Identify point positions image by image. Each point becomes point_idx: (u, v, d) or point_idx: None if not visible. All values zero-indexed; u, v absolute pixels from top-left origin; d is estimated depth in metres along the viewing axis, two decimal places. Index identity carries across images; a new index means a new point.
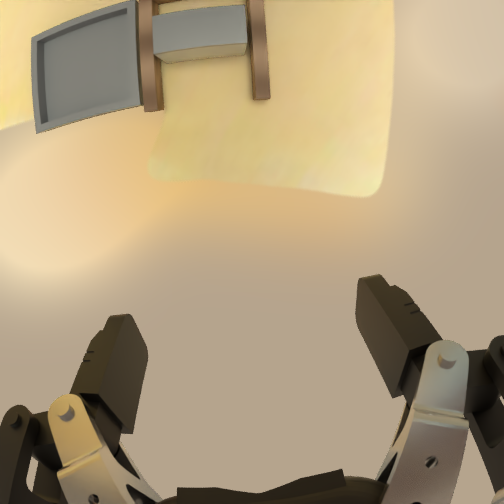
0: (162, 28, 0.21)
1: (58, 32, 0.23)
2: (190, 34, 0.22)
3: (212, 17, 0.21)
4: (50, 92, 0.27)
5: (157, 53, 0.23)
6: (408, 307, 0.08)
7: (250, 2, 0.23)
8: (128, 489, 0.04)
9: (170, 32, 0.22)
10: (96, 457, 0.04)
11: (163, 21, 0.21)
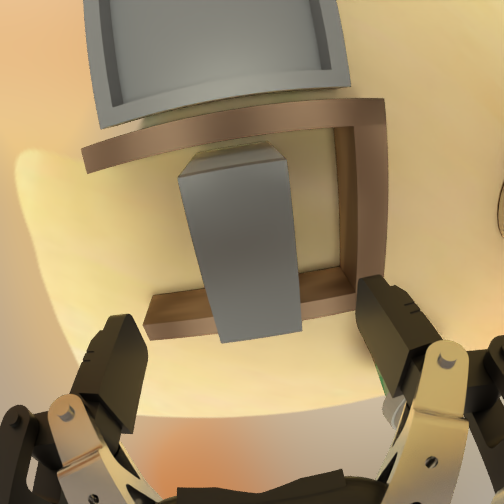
0: (247, 190, 0.12)
1: None
2: (229, 253, 0.13)
3: (273, 287, 0.14)
4: None
5: None
6: (408, 307, 0.08)
7: (317, 301, 0.19)
8: (128, 489, 0.04)
9: (235, 210, 0.12)
10: (96, 457, 0.04)
11: (267, 189, 0.12)
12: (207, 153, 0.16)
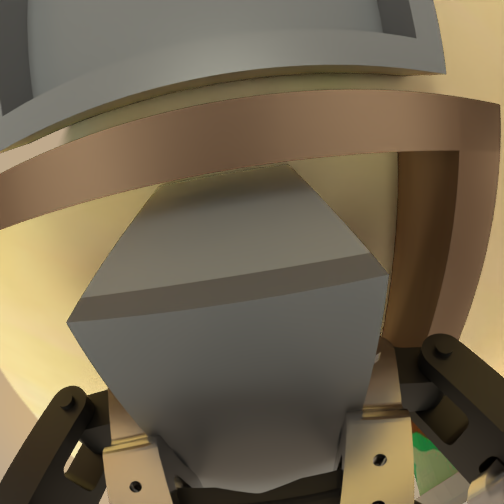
0: (265, 356, 0.04)
1: None
2: (221, 444, 0.05)
3: (302, 465, 0.06)
4: None
5: None
6: None
7: None
8: (175, 479, 0.05)
9: (231, 392, 0.04)
10: (152, 444, 0.04)
11: (322, 351, 0.04)
12: (174, 193, 0.08)
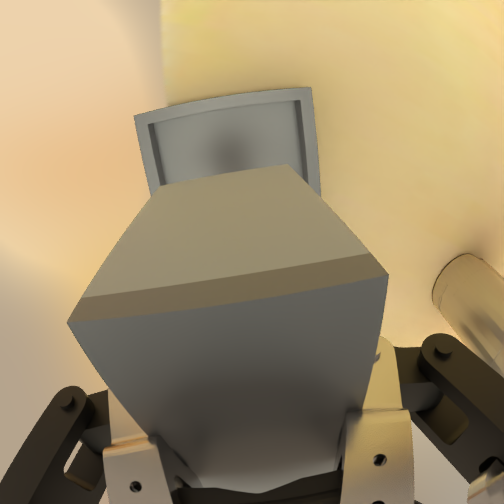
0: (265, 355, 0.04)
1: (303, 139, 0.23)
2: (221, 443, 0.05)
3: (302, 465, 0.06)
4: (202, 122, 0.23)
5: None
6: None
7: None
8: (174, 479, 0.05)
9: (231, 392, 0.04)
10: (152, 444, 0.04)
11: (322, 351, 0.04)
12: (174, 192, 0.08)
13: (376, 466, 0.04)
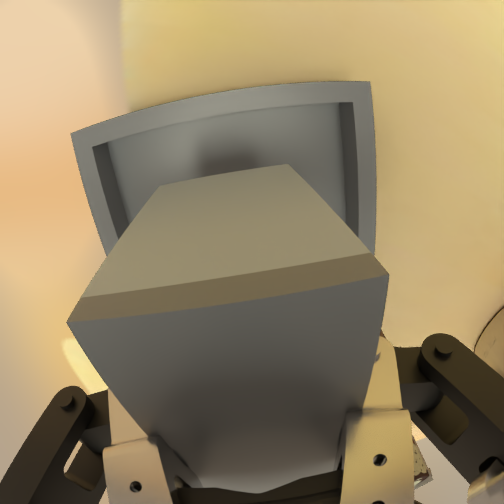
0: (266, 356, 0.04)
1: (354, 170, 0.14)
2: (221, 444, 0.05)
3: (302, 465, 0.06)
4: (185, 137, 0.14)
5: None
6: None
7: None
8: (174, 479, 0.05)
9: (231, 392, 0.04)
10: (151, 444, 0.04)
11: (322, 351, 0.04)
12: (174, 192, 0.08)
13: (376, 466, 0.04)
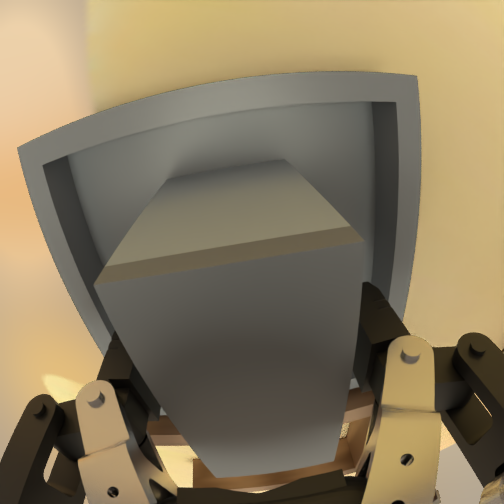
0: (263, 312, 0.05)
1: (392, 192, 0.10)
2: (224, 407, 0.06)
3: (299, 435, 0.07)
4: (165, 147, 0.10)
5: None
6: (378, 303, 0.09)
7: None
8: (150, 483, 0.04)
9: (234, 349, 0.05)
10: (122, 449, 0.04)
11: (311, 309, 0.05)
12: (181, 184, 0.09)
13: (402, 465, 0.03)
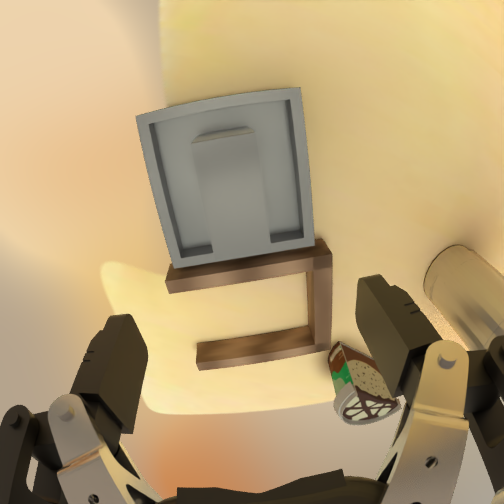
0: (232, 150, 0.19)
1: (293, 136, 0.24)
2: (221, 190, 0.21)
3: (249, 215, 0.22)
4: (199, 121, 0.24)
5: None
6: (408, 307, 0.08)
7: (293, 349, 0.34)
8: (128, 489, 0.04)
9: (225, 163, 0.20)
10: (96, 457, 0.04)
11: (244, 150, 0.19)
12: (206, 134, 0.24)
13: (426, 468, 0.03)
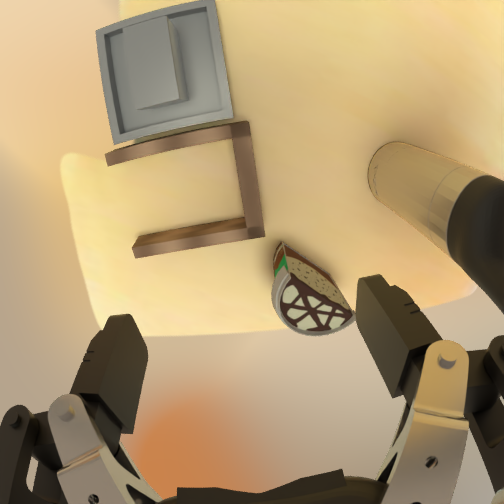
0: (149, 28, 0.20)
1: (210, 31, 0.25)
2: (141, 55, 0.22)
3: (161, 71, 0.23)
4: None
5: None
6: (408, 307, 0.08)
7: (224, 232, 0.35)
8: (128, 489, 0.04)
9: (144, 36, 0.21)
10: (96, 457, 0.04)
11: (158, 27, 0.20)
12: None
13: (426, 468, 0.03)
